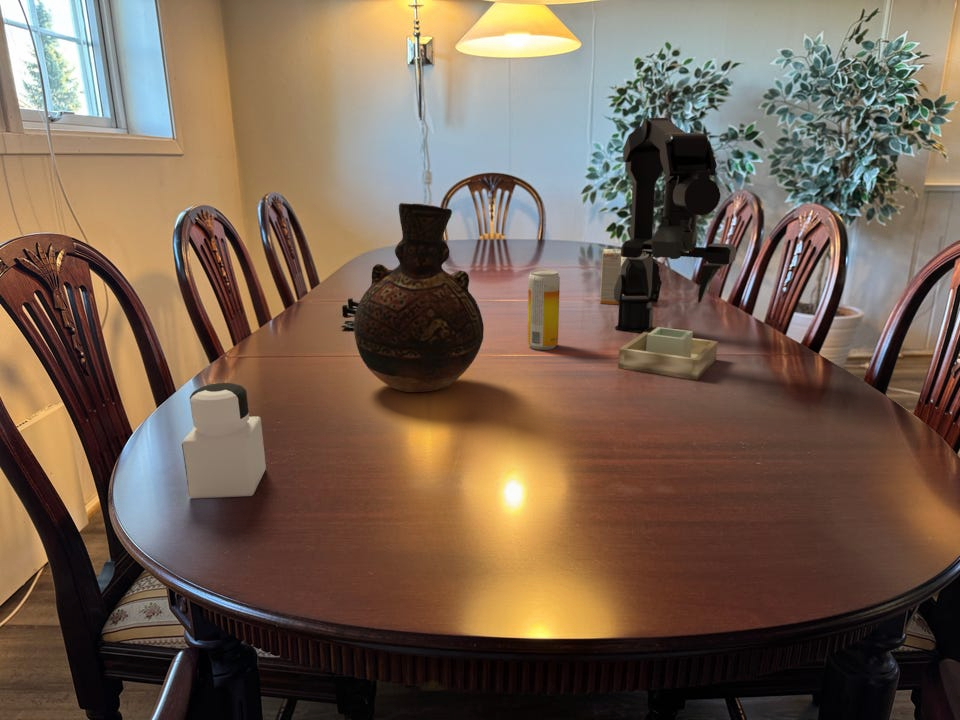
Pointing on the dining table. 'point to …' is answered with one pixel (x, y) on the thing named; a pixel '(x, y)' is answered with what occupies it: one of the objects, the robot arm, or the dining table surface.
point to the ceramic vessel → (419, 310)
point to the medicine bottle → (223, 444)
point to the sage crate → (670, 342)
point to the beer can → (543, 309)
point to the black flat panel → (349, 310)
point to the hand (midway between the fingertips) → (673, 299)
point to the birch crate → (668, 359)
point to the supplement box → (609, 274)
